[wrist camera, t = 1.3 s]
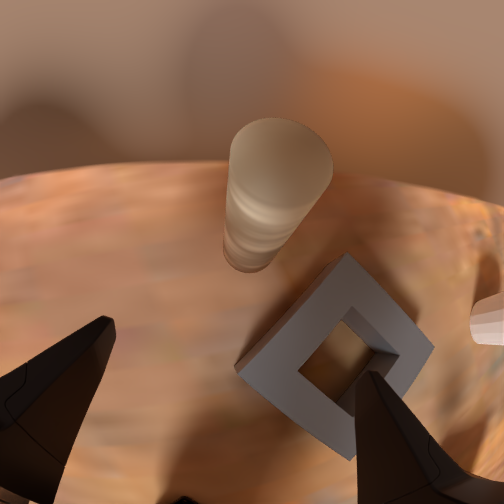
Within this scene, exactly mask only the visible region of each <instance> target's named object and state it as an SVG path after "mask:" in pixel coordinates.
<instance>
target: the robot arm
mask: <svg viewBox="0 0 504 504" xmlns="http://www.w3.org/2000/svg"><path fill="white" fill-rule="evenodd" d="M115 340H116V330H115V323H114V320H113V318H110V317H107V316H104V315H103V316H100V317H99V318H97V319H95V320H94V321H92V322H90V323H89V324H87V325H85V326H84V327H82V328H80V329H79V330H77V331H75V332H74V333H72V334H71V335H69V336H67V337H66V338H64V339H62V340H61V341H59V342H58V343H56V344H54V345H53V346H51V347H50V348H48V349H46V350H45V351H43V352H42V353H40V354H38V355H37V356H35V357H34V358H32V359H31V360H29V361H28V362H26V363H24V364H23V365H21V366H19V367H18V368H16V369H14V370H13V371H11V372H9V373H8V374H6V375H4V376H2V377H0V504H29V501H33V502H35V503H38V504H53V502H54V499H55V496H56V493H57V490H58V486H59V483H60V480H61V477H62V475H63V472H64V469H65V466H66V463H67V460H68V457H69V455H70V452H71V450H72V447H73V444H74V442H75V439H76V437H77V434H78V432H79V429H80V427H81V424H82V422H83V420H84V417H85V415H86V413H87V410H88V408H89V406H90V403H91V401H92V399H93V397H94V395H95V392H96V390H97V388H98V386H99V384H100V382H101V379H102V377H103V374H104V372H105V369H106V366H107V363H108V360H109V357H110V354H111V351H112V348H113V346H114V343H115ZM355 438H356V456H357V487H358V504H504V482H498V481H492V480H485V479H480V478H475V477H472V476H470V475H468V474H467V473H466V472H464V471H463V470H462V469H461V468H460V467H459V466H458V464H457V463H456V462H455V461H454V460H453V459H452V458H451V457H450V456H449V455H448V454H447V453H446V452H445V451H444V450H443V449H442V448H441V447H440V445H439V444H438V443H437V442H436V441H435V439H434V438H433V437H432V436H431V435H429V432H428V431H427V430H426V428H425V427H424V426H423V425H422V424H421V422H420V421H419V420H418V419H417V417H416V416H415V415H414V414H413V413H412V411H411V410H410V409H409V408H408V407H407V405H406V404H405V403H404V402H403V401H402V399H401V398H400V397H399V396H398V395H397V393H396V392H395V391H394V390H393V389H392V387H391V386H390V385H389V384H388V383H387V381H386V380H385V379H384V378H383V377H382V375H381V374H380V373H379V372H378V371H376V370H367V371H365V372H364V374H363V375H362V376H361V377H360V379H359V380H358V381H357V383H356V385H355ZM183 500H186V501H187V502H185V501H183ZM171 504H198V503H196V502H195V501H193V500H192V499H190V498H189V497H186V496H182V497H180V498H179V499H177V500H176V501H174V502H173V503H171Z"/></svg>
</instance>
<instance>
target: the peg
mask: <svg viewBox="0 0 504 504" xmlns="http://www.w3.org/2000/svg"><path fill="white" fill-rule="evenodd" d="M332 176H333V160H332V156H331V153H330V151H329V149H328V147H327V145H326V144H325V143H324V141H323V140H322V139H321V138H320V137H319V136H318V135H317V134H316V133H315V132H314V131H312V130H311V129H310V128H308V127H306V126H305V125H302V124H300V123H298V122H295V121H293V120H289V119H284V118H264V119H260V120H256V121H254V122H251V123H249V124H248V125H246V126H244V127H243V128H242V129H241V130H240V131H239V132H238V133H237V134H236V136H235V137H234V139H233V141H232V144H231V149H230V158H229V170H228V183H227V196H226V210H225V224H224V240H223V252H224V256H225V258H226V260H227V262H228V263H229V264H230V265H231V266H232V267H233V268H235V269H236V270H238V271H241V272H244V273H255V272H258V271H261V270H263V269H264V268H265V267H267V266H268V265H269V263H270V262H271V261H272V260H273V258H274V257H275V256H276V254H277V253H278V252H279V250H280V249H281V248H282V247H283V245H284V244H285V243H286V241H287V240H288V239H289V237H290V236H291V235H292V233H293V232H294V231H295V230H296V228H297V227H298V226H299V224H300V223H301V222H302V220H303V219H304V218H305V216H306V215H307V214H308V212H309V211H310V210H311V208H312V207H313V206H314V204H315V203H316V202H317V200H318V199H319V198H320V196H321V195H322V194H323V192H324V191H325V190H326V188H327V187H328V185H329V184H330V182H331V179H332Z"/></svg>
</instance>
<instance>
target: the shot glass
mask: <svg viewBox="0 0 504 504" xmlns="http://www.w3.org/2000/svg"><path fill="white" fill-rule="evenodd" d="M470 331H471V335H472V337H473V340H474V341H475V342H476V343H478V344H491V345H504V291H503V292H500V293H498V294H495V295H492V296H490V297H487V298H484V299H481V300H479V301H478V302H476V303H475V305H474V306H473V308H472V311H471V315H470Z"/></svg>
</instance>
